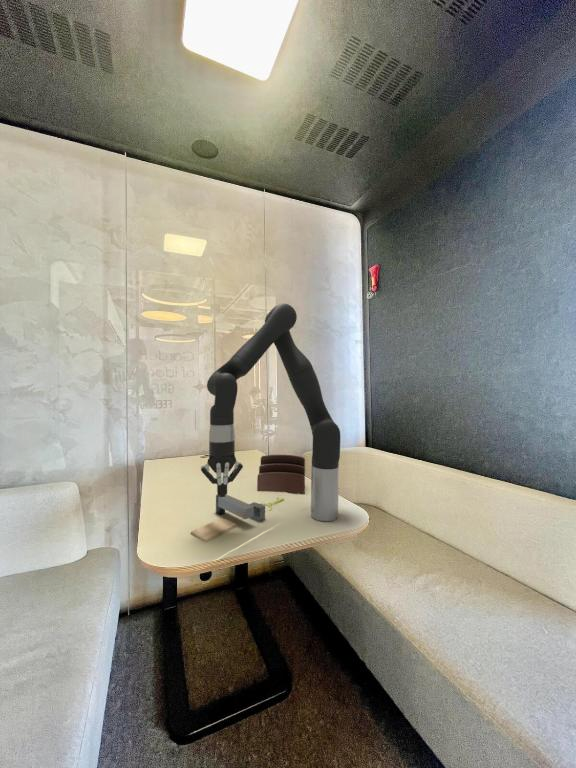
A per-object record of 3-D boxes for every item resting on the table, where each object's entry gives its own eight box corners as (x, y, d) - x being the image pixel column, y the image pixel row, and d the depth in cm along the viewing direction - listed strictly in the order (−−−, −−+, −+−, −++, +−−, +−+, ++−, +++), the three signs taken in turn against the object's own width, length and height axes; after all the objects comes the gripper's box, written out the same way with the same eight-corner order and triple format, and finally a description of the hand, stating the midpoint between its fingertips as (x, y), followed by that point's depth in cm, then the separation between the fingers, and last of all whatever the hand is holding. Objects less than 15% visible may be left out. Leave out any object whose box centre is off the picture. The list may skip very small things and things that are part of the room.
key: (284, 502, 115) (284, 497, 115) (268, 515, 104) (268, 509, 104) (268, 499, 118) (268, 494, 118) (251, 511, 107) (251, 505, 107)
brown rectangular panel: (222, 521, 97) (222, 517, 97) (237, 528, 93) (237, 524, 93) (190, 535, 88) (190, 531, 88) (205, 543, 83) (205, 539, 83)
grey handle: (213, 512, 102) (213, 495, 102) (221, 509, 105) (222, 492, 105) (244, 529, 91) (245, 509, 91) (253, 525, 94) (253, 506, 94)
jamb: (226, 505, 109) (226, 492, 109) (264, 521, 98) (265, 505, 98) (203, 515, 101) (203, 500, 101) (242, 532, 90) (243, 516, 90)
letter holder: (260, 485, 134) (260, 453, 134) (304, 486, 133) (305, 454, 133) (256, 493, 124) (257, 459, 124) (304, 494, 123) (305, 460, 123)
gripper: (241, 435, 96) (241, 489, 96) (198, 438, 92) (198, 494, 92) (246, 439, 89) (246, 498, 89) (199, 442, 85) (200, 503, 85)
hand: (222, 496), depth 90 cm, fingers closed
